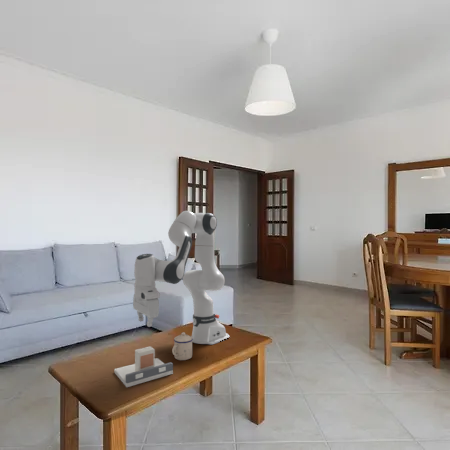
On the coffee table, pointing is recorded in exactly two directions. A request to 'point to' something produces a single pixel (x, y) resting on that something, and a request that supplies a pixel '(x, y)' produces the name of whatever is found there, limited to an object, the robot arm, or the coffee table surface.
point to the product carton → (144, 358)
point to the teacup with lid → (182, 347)
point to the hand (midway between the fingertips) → (145, 323)
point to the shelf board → (143, 373)
